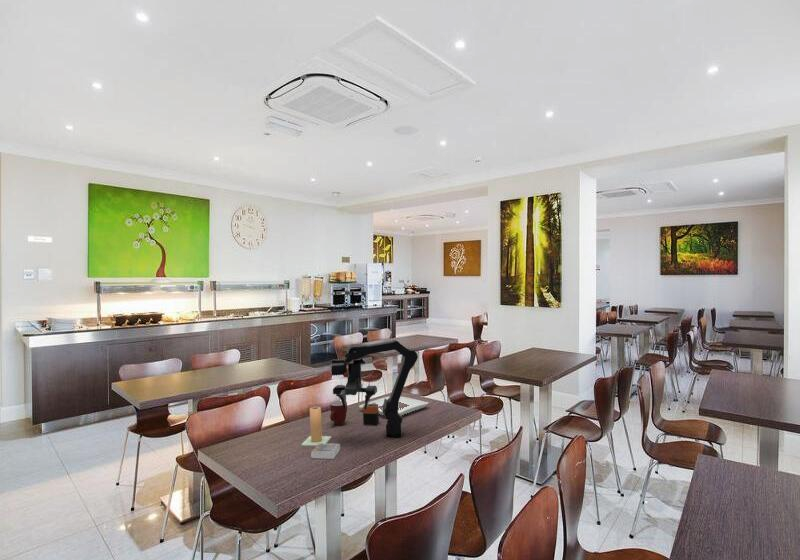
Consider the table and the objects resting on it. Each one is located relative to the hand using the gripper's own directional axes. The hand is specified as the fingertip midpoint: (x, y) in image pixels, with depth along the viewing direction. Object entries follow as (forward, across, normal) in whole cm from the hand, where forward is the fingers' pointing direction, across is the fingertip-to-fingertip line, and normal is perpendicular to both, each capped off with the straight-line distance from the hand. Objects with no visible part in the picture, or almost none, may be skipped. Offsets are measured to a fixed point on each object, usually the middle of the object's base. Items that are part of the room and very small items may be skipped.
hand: (355, 409), depth 188 cm
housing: (+13, -8, -16) cm, 23 cm away
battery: (+13, +2, +20) cm, 24 cm away
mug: (+13, -14, +18) cm, 26 cm away
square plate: (+13, +9, +43) cm, 46 cm away
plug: (+13, -17, -4) cm, 21 cm away
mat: (+13, -17, -4) cm, 22 cm away
